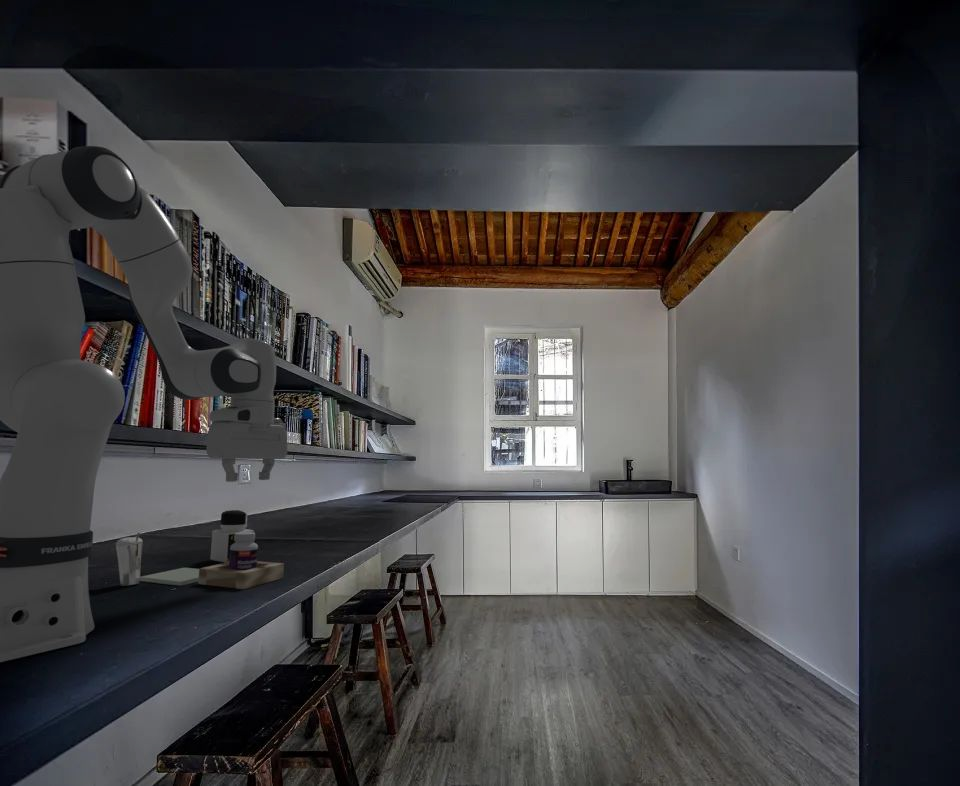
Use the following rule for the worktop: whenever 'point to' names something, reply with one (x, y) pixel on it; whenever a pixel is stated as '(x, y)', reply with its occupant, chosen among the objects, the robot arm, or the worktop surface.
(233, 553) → the pill bottle
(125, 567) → the milkshake
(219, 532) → the medicine bottle
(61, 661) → the worktop surface
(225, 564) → the socket block
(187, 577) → the sage mat
